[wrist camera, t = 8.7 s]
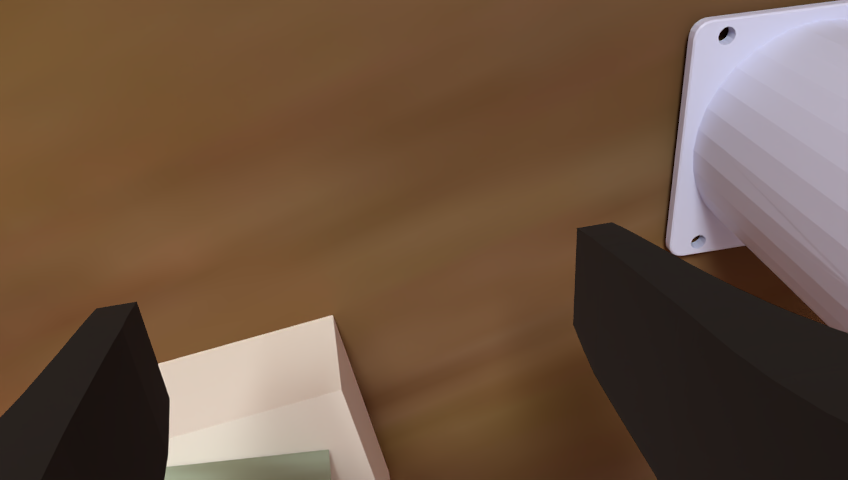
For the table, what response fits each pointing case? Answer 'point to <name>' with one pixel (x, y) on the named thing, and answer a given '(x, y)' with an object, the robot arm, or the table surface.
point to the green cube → (258, 468)
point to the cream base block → (272, 402)
